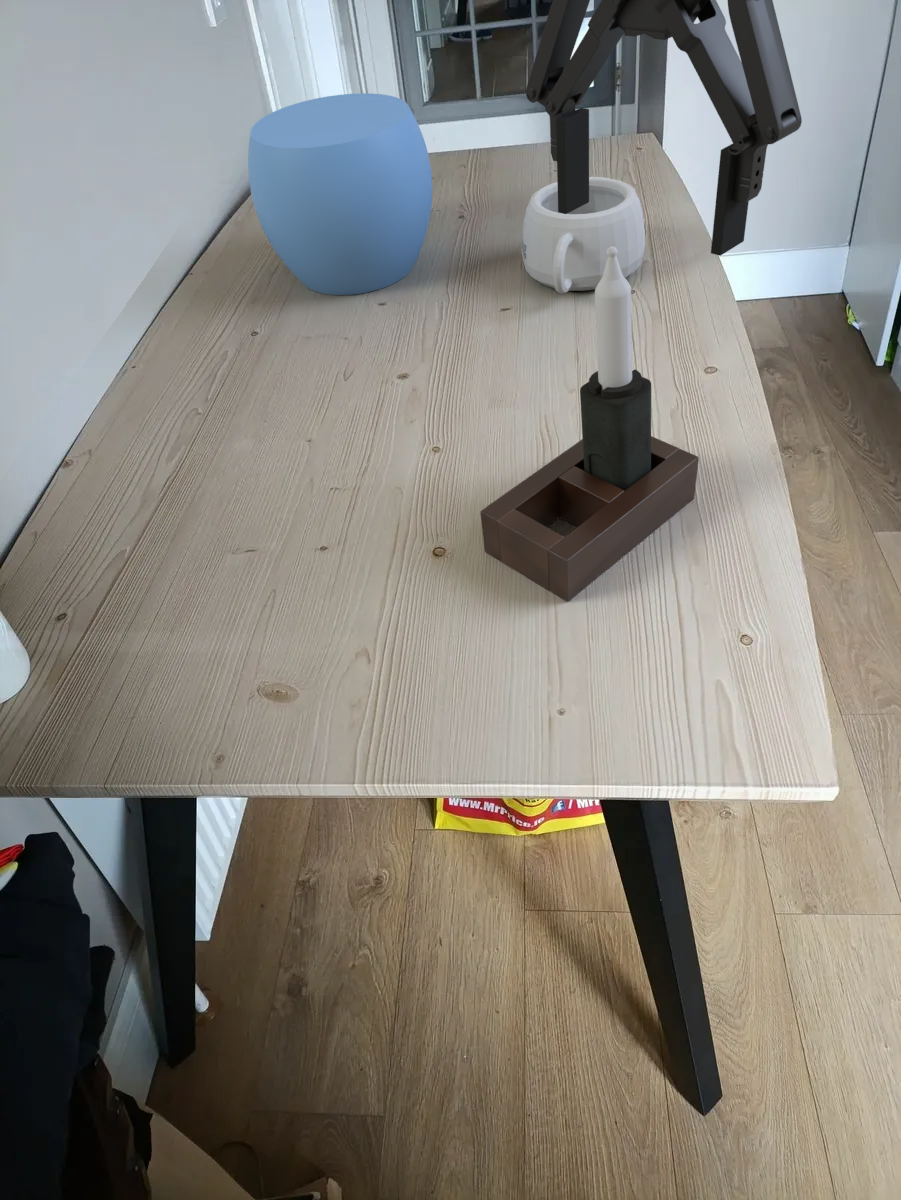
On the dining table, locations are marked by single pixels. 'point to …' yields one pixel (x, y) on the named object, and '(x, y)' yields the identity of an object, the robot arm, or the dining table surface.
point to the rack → (584, 517)
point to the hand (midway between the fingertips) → (645, 226)
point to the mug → (582, 235)
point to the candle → (615, 390)
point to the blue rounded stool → (342, 190)
